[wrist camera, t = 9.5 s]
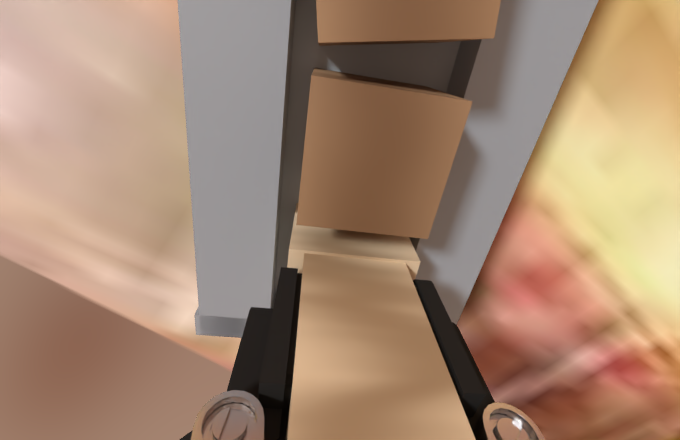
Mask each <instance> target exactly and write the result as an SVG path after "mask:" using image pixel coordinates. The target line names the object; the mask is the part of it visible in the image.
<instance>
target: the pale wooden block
mask: <svg viewBox="0 0 680 440" xmlns="http://www.w3.org/2000/svg"><path fill="white" fill-rule="evenodd" d="M297 212H298V203H297V204H296V210H295V216H294V222H293V228H292V234H291V240H290V246H289V254H288V265H287V268H298V272H297V273H302V283H301V294H300V305H299V317H298V328H297V339H296V350H295V362H294V373H293V383H292V392H291V400H290V407H289V415H288V423H287V431H286V439H285V440H476V439H475V437H474V434H473V432H472V429H471V427H470V424H469V422H468V419H467V417H466V414H465V411H464V409H463V406H462V404H461V401H460V399H459V396H458V394H457V391H456V389H455V386H454V384H453V381H452V379H451V376H450V374H449V371H448V369H447V366H446V364H445V361H444V359H443V356H442V354H441V351H440V348H439V346H438V343H437V341H436V338H435V336H434V333H433V331H432V328H431V326H430V323H429V321H428V318H427V316H426V313H425V311H424V308H423V306H422V303H421V301H420V298H419V296H418V293H417V291H416V288H415V285H414V283H413V280H414V279H415V278H416V275H417V271H418V268H419V265H420V260H419V257H418V255H417V253H416V251H415V249H414V247H413V245H412V243H411V240H410V238H409V237H403V236H394V235H385V234H376V233H366V232H357V231H348V230H338V229H329V228H320V227H311V226H301V225H296V222H297Z"/></svg>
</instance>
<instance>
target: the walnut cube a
mask: <svg viewBox="0 0 680 440" xmlns="http://www.w3.org/2000/svg"><path fill="white" fill-rule="evenodd" d="M471 105H472V101H469V100H466V99H463V98H460V97H457V96H454V95H451V94H448V93H445V92H442V91H439V90H436V89H433V88H430V87H427V86H421V85H415V84H409V83H403V82H397V81H391V80H385V79H379V78H373V77H367V76H361V75H355V74H349V73H343V72H337V71H331V70H325V69H319V68H314V70H313V73H312V75H311V83H310V93H309V103H308V113H307V123H306V133H305V142H304V152H303V162H302V172H301V182H300V192H299V202H298V212H297V222H296V225H301V226H311V227H320V228H329V229H338V230H348V231H357V232H366V233H376V234H385V235H394V236H403V237H413V238H422V239H428V237H429V234H430V231H431V228H432V225H433V222H434V219H435V216H436V213H437V210H438V207H439V204H440V200H441V197H442V194H443V191H444V188H445V185H446V182H447V179H448V176H449V173H450V170H451V167H452V164H453V161H454V158H455V154H456V151H457V148H458V145H459V142H460V139H461V136H462V133H463V130H464V127H465V124H466V121H467V118H468V115H469V112H470V108H471Z"/></svg>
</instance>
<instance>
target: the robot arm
mask: <svg viewBox="0 0 680 440" xmlns="http://www.w3.org/2000/svg"><path fill="white" fill-rule="evenodd" d="M297 272H298V268H287V267H281V270H280V275H279V280H278V285H277V291H276V296H275V301H274V306H273V309H272V308H258V307H251V308H250V310H249V314H248V317H247V321H246V324H245V328H244V331H243V335H242V339H241V342H240V346H239V349H238V353H237V356H236V360H235V364H234V367H233V371H232V375H231V378H230V382H229V385H228V389H227V392H223V393H221V394H219V395H217V396H215V397H213V398H212V399H211V400H210V401H208V402H207V403H206V404H205V405H204V406H203V407H202V409H201V410H200V412H199V413H198V415H197V417H196V420H195V423H194V426H193V430H192V431H191V432H190V433H188V434H187V435H185V436H184V437H183V438H181V439H180V440H285V439H286V431H287V423H288V415H289V407H290V400H291V392H292V383H293V373H294V362H295V350H296V339H297V328H298V317H299V305H300V294H301V283H302V273H297ZM413 283H414V285H415V288H416V291H417V293H418V296H419V298H420V301H421V303H422V306H423V308H424V311H425V313H426V316H427V318H428V321H429V323H430V326H431V328H432V331H433V333H434V336H435V338H436V341H437V343H438V346H439V348H440V351H441V354H442V356H443V359H444V361H445V364H446V366H447V369H448V371H449V374H450V376H451V379H452V381H453V384H454V386H455V389H456V391H457V394H458V396H459V399H460V401H461V404H462V406H463V409H464V411H465V414H466V417H467V419H468V422H469V424H470V427H471V429H472V432H473V434H474V437H475V439H476V440H545V438H544V436H543V435H542V433H541V431H540V430H539V428H538V427H537V425H536V424H535V423H534V422H533V421H532V420H531V418H529V417H528V416H527V415H526V414H525V413H523V412H522V411H521V410H519V409H517V408H515V407H514V406H512V405H509V404H505V403H496V402H494V400H493V398H492V396H491V394H490V392H489V389H488V387H487V385H486V383H485V381H484V379H483V377H482V375H481V373H480V371H479V369H478V367H477V365H476V363H475V361H474V359H473V357H472V355H471V353H470V351H469V349H468V347H467V345H466V343H465V341H464V339H463V337H462V335H461V332H460V330H459V328H458V327H457V325H456V324H455V323H453V322H451V320H450V317H449V315H448V313H447V311H446V309H445V307H444V305H443V303H442V301H441V299H440V297H439V294H438V292H437V290H436V288H435V286H434V284H433V282H432V281H429V280H418V279H414V280H413Z"/></svg>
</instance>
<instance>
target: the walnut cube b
mask: <svg viewBox="0 0 680 440" xmlns="http://www.w3.org/2000/svg"><path fill="white" fill-rule="evenodd" d="M500 2H501V0H316V10H317V30H318V44H319V46H331V45H371V44H410V43H441V42H454V41H467V40H479V39H492V38H494V36H495V30H496V25H497V19H498V14H499V8H500Z"/></svg>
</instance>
